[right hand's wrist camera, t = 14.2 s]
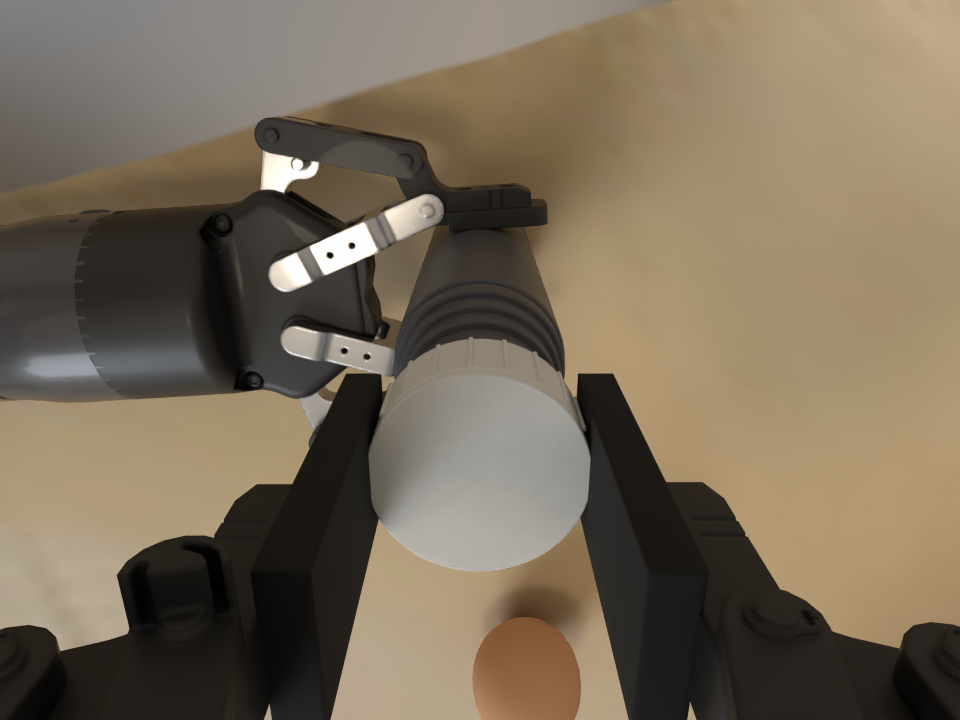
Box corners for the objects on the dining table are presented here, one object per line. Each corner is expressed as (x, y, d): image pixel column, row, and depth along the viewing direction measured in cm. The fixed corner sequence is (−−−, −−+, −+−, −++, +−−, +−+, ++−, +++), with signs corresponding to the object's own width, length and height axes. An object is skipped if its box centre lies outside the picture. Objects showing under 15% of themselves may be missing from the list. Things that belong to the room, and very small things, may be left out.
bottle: (480, 179, 31) (481, 303, 12) (548, 251, 33) (647, 467, 13) (410, 250, 33) (310, 465, 13) (479, 317, 34) (478, 601, 15)
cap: (338, 440, 15) (317, 489, 13) (467, 292, 14) (465, 323, 12) (489, 548, 16) (490, 609, 14) (622, 420, 15) (643, 467, 13)
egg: (567, 670, 42) (586, 791, 35) (471, 667, 42) (469, 788, 35) (575, 592, 40) (597, 704, 32) (474, 589, 40) (473, 701, 32)
